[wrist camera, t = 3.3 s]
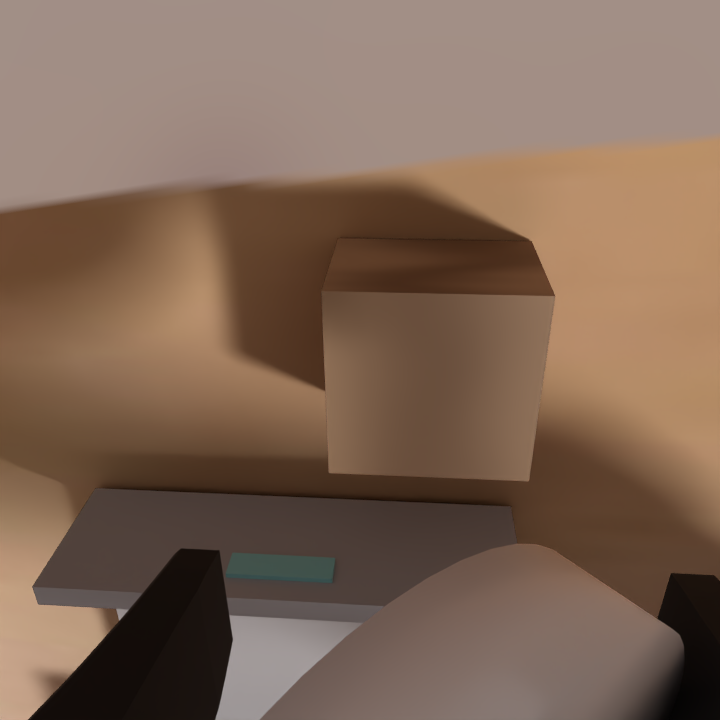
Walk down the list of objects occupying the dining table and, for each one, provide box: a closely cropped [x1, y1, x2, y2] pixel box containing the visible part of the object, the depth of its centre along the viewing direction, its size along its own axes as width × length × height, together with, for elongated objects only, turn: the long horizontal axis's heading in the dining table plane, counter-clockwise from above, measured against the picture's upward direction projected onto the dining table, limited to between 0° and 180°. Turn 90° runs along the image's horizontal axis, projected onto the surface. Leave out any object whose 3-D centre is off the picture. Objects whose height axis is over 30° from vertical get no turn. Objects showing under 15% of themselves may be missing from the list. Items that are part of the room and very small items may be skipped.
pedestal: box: [321, 238, 555, 481], centre depth 17 cm, size 5×5×4 cm
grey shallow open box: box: [32, 488, 517, 720], centre depth 23 cm, size 14×13×4 cm
